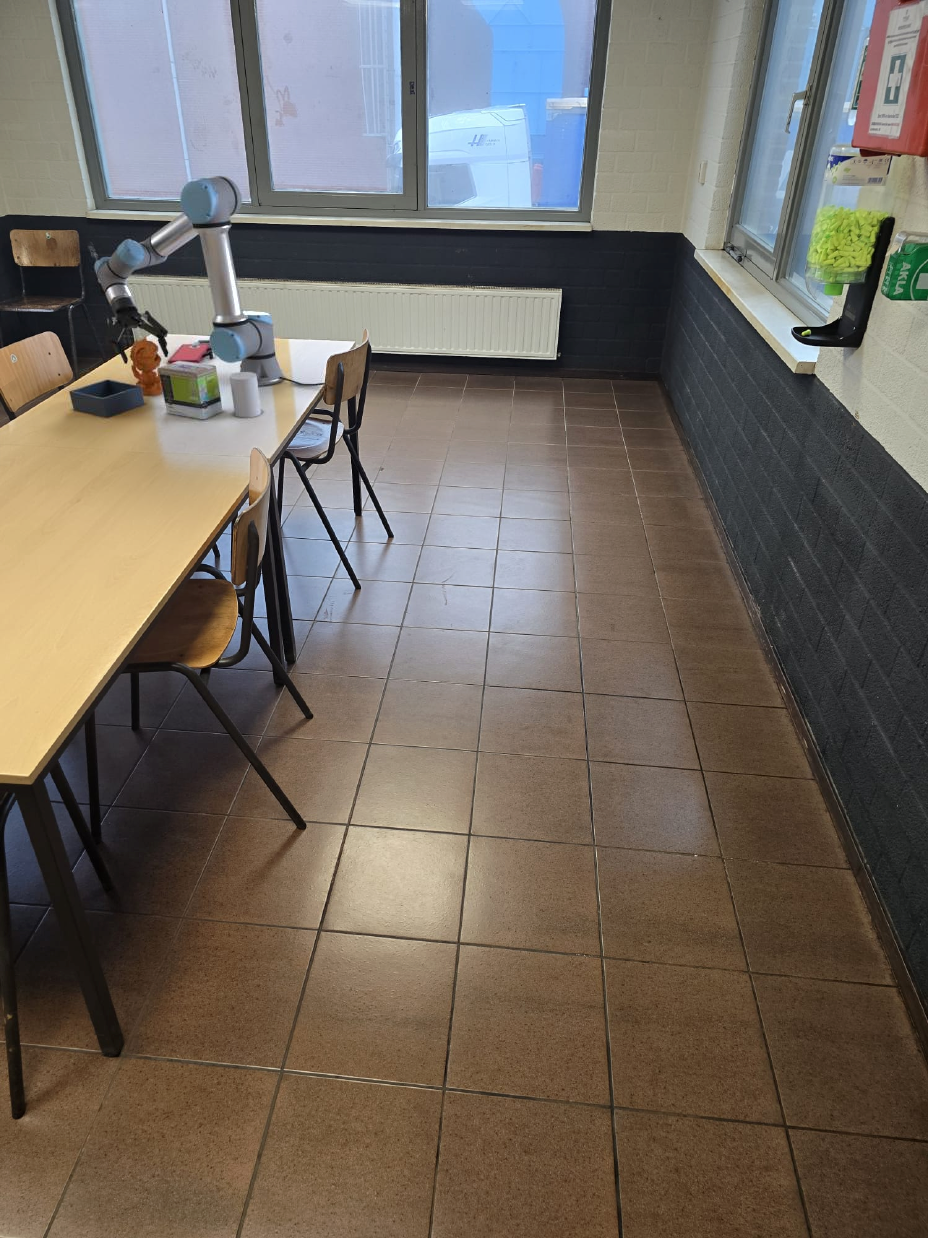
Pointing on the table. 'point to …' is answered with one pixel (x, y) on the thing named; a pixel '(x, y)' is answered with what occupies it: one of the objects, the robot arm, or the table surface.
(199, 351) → the red board with handle
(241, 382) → the cup
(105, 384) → the crate
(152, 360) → the orange monster figurine
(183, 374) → the tea box
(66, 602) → the table surface
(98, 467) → the table surface
